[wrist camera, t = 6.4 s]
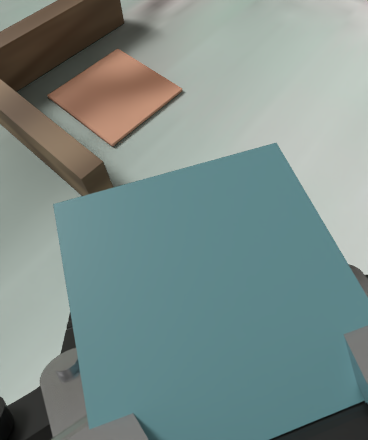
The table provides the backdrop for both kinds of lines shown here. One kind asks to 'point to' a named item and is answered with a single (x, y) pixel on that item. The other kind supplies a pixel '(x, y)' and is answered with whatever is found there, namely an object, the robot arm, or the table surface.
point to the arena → (76, 87)
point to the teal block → (210, 302)
